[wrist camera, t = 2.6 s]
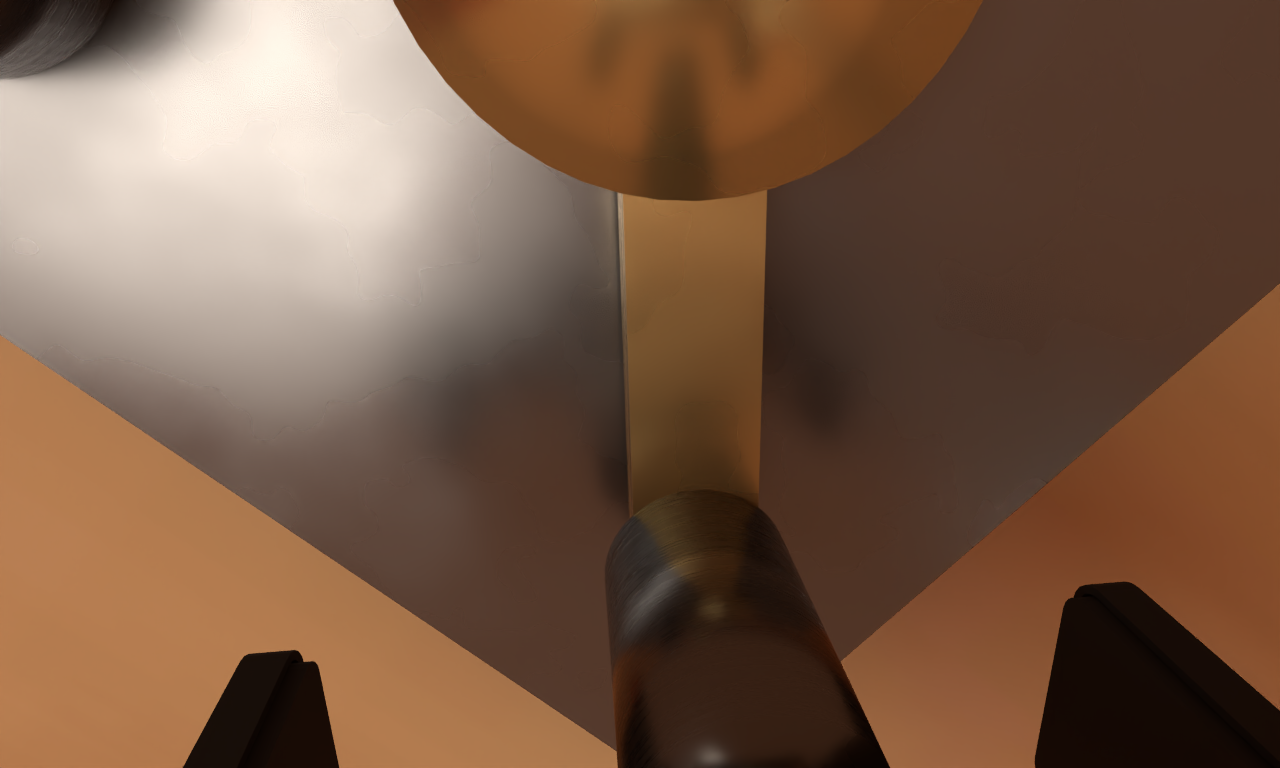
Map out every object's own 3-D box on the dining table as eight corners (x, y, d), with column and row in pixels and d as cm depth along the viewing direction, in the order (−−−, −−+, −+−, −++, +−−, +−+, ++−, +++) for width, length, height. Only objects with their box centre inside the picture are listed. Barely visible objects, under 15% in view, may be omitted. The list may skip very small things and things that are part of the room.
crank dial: (342, -486, 10) (-51, -1469, 4) (988, -475, 10) (1615, -1313, 4) (470, 604, 15) (401, 961, 9) (889, 575, 16) (1097, 893, 9)
